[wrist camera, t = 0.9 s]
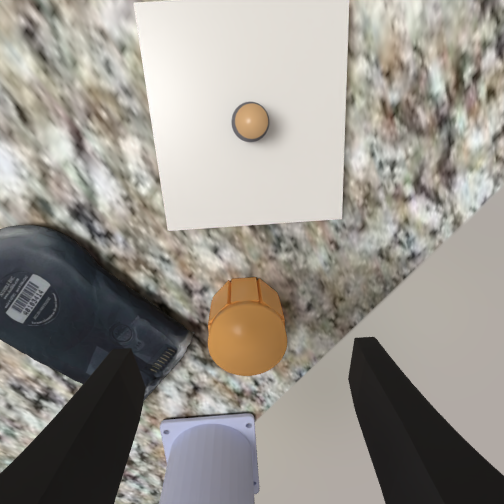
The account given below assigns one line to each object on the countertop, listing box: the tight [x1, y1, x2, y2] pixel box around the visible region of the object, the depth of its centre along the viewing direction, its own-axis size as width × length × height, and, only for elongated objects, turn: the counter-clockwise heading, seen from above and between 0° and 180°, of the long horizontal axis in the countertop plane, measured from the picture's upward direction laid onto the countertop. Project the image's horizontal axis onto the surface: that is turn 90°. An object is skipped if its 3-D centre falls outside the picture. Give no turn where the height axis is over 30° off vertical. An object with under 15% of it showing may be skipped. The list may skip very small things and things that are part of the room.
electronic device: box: [0, 225, 194, 400], centre depth 23 cm, size 9×6×15 cm
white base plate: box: [134, 0, 349, 231], centre depth 18 cm, size 12×11×5 cm
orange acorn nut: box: [208, 277, 287, 376], centre depth 23 cm, size 5×5×4 cm
